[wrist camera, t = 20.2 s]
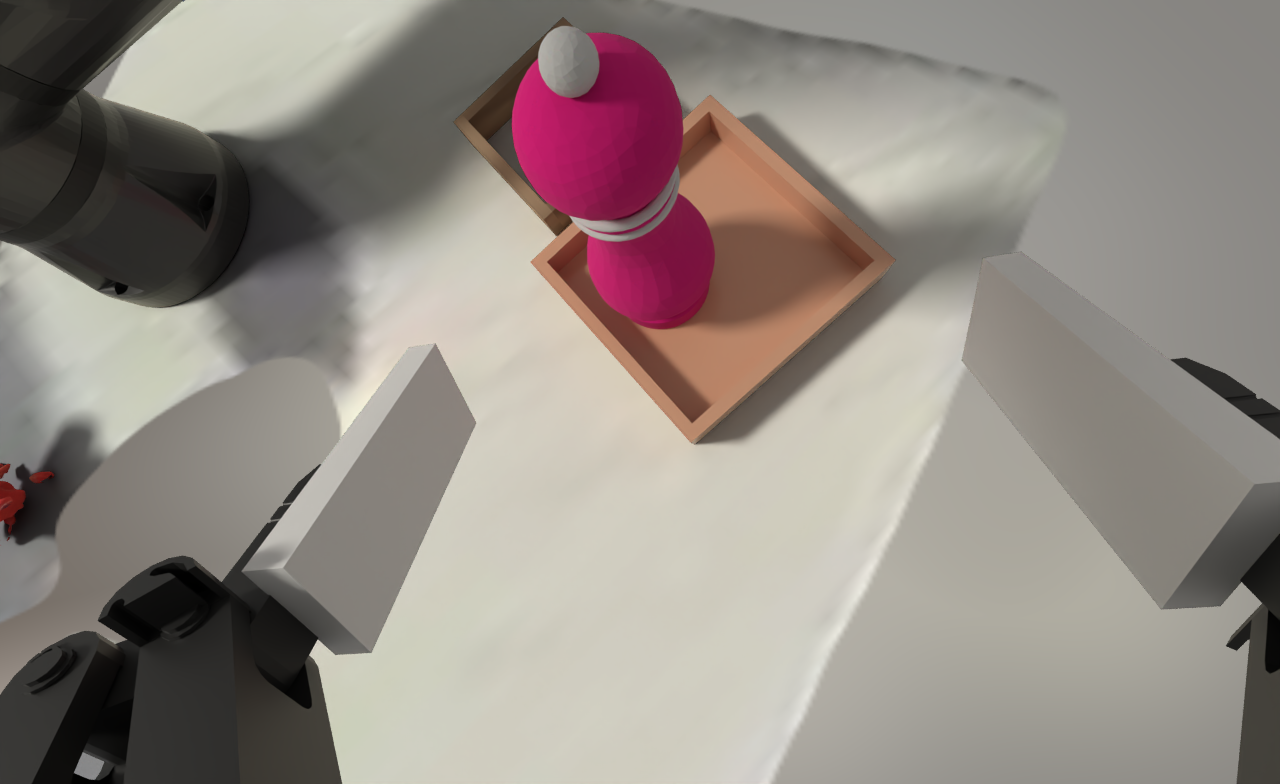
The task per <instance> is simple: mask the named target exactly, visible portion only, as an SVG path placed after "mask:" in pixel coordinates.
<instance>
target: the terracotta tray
mask: <svg viewBox="0 0 1280 784" xmlns="http://www.w3.org/2000/svg"><path fill="white" fill-rule="evenodd" d="M683 128H684V130H683V146H682V150H681V154H680V158H679V161H678V168H679V177H680V184H679V190H678V193H679V194H681V195H683V196H684V197H685V198H687V199H688V200H689V201H690V202H691V203H692V204H693V205H694V206H695V207H696V208H697V209H698V211H699V212H700V213H701V214H702V216H703V217H704V219H705V220H706V223H707V225H708V227H709V229H710V233H711V236H712V239H713V243H714V249H715V263H714V269H713V273H712V277H711V279H710V285H709V291H708V295H707V298H706V300H705V302H704V304H703V305H702V307H701V308H700V310H699V311H698V312H697V313H696V314H695V315H694V316H693V317H692V318H691V319H689V320H688V321H686V322H685V323H683V324H681V325H679V326H676V327H673V328H668V329H651V328H646V327H644V326H641V325H639V324H637V323H635V322H633V321H632V320H631V319H630V318H629V317H627V316H624V315H622V314H620V313H619V312H617V311H616V310H614V309H613V308H611V307H610V306H609V305H608V304H607V303H606V302H605V301H604V300H603V298H602V297H601V295H600V294H599V292H598V291H597V289H596V287H595V285H594V283H593V281H592V278H591V276H590V273H589V268H588V263H587V243H588V236H589V235H588V234H586V233H585V232H583V231H582V230H581V229H579V228H578V227H577V226H576V225H575V223H574V222H573V223H572V224H571V225H569V226H568V227H567V228H566V229H565V230H564V231H563V232H562V233H561V234H560V235H559V236H558V237H557V238H556V239H554V240H553V241H552V242H551V243H550V244H549V245H548V246H547V247H546V248H545V249H544V250H543V251H542V252H540V253H539V254H538V255H537V256H536V257H535V258H534V259H533V260H532V261H531V263H532V264H533V266H534V267H535V268H536V269H537V270H538V271H539V272H540V273H541V275H542V276H543V277H544V278H545V279H546V280H547V281H548V282H549V284H550V285H551V286H552V287H553V288H554V289H555V290H556V291H557V293H558V294H559V295H560V296H561V297H562V298H563V299H564V300H565V302H566V303H567V304H568V305H569V306H570V307H571V308H572V309H573V311H574V312H575V313H576V314H577V315H578V316H579V317H580V318H581V320H582V321H583V322H584V323H585V324H586V325H587V326H588V328H589V329H590V330H591V331H592V332H593V333H594V334H595V335H596V337H597V338H598V339H599V340H600V341H601V342H602V343H603V344H604V346H605V347H606V348H607V349H608V350H609V351H610V352H611V353H612V355H613V356H614V357H615V358H616V359H617V360H618V361H619V362H620V364H621V365H622V366H623V367H624V368H625V369H626V370H627V371H628V373H629V374H630V375H631V376H632V377H633V378H634V379H635V380H636V382H637V383H638V384H639V385H640V386H641V387H642V388H643V389H644V391H645V392H646V393H647V394H648V395H649V396H650V397H651V398H652V400H653V401H654V402H655V403H656V404H657V405H658V406H659V407H660V409H661V410H662V411H663V412H664V413H665V414H666V415H667V416H668V418H669V419H670V420H671V421H672V422H673V423H674V424H675V425H676V427H677V428H678V429H679V430H680V431H681V432H682V433H683V434H684V436H685V437H686V438H687V439H688V440H689V441H690V442H691V443H692V444H696V443H697V442H699V441H700V440H701V439H702V438H703V437H704V436H705V435H706V434H707V433H709V432H710V431H711V430H712V429H713V428H714V427H715V426H716V425H718V424H719V423H720V422H721V421H722V420H723V419H724V418H725V417H727V416H728V415H729V414H730V413H731V412H732V411H733V410H734V409H736V408H737V407H738V406H739V405H740V404H741V403H742V402H743V401H745V400H746V399H747V398H748V397H749V396H750V395H751V394H752V393H753V392H755V391H756V390H757V389H758V388H759V387H760V386H761V385H762V384H764V383H765V382H766V381H767V380H768V379H769V378H770V377H771V376H773V375H774V374H775V373H776V372H777V371H778V370H779V369H780V368H782V367H783V366H784V365H785V364H786V363H787V362H788V361H789V360H791V359H792V358H793V357H794V356H795V355H796V354H797V353H798V352H799V351H801V350H802V349H803V348H804V347H805V346H806V345H807V344H808V343H810V342H811V341H812V340H813V339H814V338H815V337H816V336H817V335H819V334H820V333H821V332H822V331H823V330H824V329H825V328H826V327H828V326H829V325H830V324H831V323H832V322H833V321H834V320H835V319H837V318H838V317H839V316H840V315H841V314H842V313H843V312H844V311H846V310H847V309H848V308H849V307H850V306H851V305H852V304H853V303H854V302H856V301H857V300H858V299H859V298H860V297H861V296H862V295H863V294H865V293H866V292H867V291H868V290H869V289H870V288H871V287H872V286H874V285H875V284H876V283H877V282H878V281H879V280H880V279H881V278H882V277H883V276H884V275H885V273H886V272H887V271H888V269H889V268H890V267H891V266H892V264H893V263H894V262H895V261H896V260H895V259H894V258H893V257H892V256H891V255H890V254H888V253H887V252H886V251H885V250H884V249H883V248H882V247H881V246H879V245H878V244H877V243H876V242H875V241H874V240H873V239H872V238H870V237H869V236H868V235H867V234H866V233H865V232H864V231H863V230H861V229H860V228H859V227H858V226H857V225H856V224H855V223H854V222H852V221H851V220H850V219H849V218H848V217H847V216H846V215H845V214H843V213H842V212H841V211H840V210H839V209H838V208H837V207H836V206H834V205H833V204H832V203H831V202H830V201H829V200H828V199H827V198H826V197H824V196H823V195H822V194H821V193H820V192H819V191H818V190H817V189H815V188H814V187H813V186H812V185H811V184H810V183H809V182H808V181H806V180H805V179H804V178H803V177H802V176H801V175H800V174H799V173H797V172H796V171H795V170H794V169H793V168H792V167H791V166H790V165H788V164H787V163H786V162H785V161H784V160H783V159H782V158H781V157H779V156H778V155H777V154H776V153H775V152H774V151H773V150H772V149H770V148H769V147H768V146H767V145H766V144H765V143H764V142H763V141H761V140H760V139H759V138H758V137H757V136H756V135H755V134H754V133H753V132H751V131H750V130H749V129H748V128H747V127H746V126H745V125H744V124H742V123H741V122H740V121H739V120H738V119H737V118H736V117H735V116H733V115H732V114H731V113H730V112H729V111H728V110H727V109H726V108H724V107H723V106H722V105H721V104H720V103H719V102H718V101H717V100H715V99H714V98H713V97H712V96H711V95H709V96H708V97H707V98H706V99H705V100H704V101H703V102H702V103H701V104H699V105H698V106H697V107H696V108H695V109H694V110H693V111H692V112H691V113H690V114H689V115H688V116H687V117H686V118H684V119H683Z"/></svg>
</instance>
